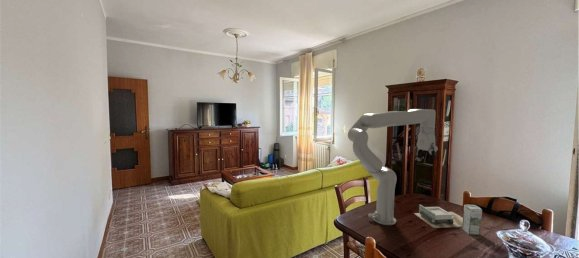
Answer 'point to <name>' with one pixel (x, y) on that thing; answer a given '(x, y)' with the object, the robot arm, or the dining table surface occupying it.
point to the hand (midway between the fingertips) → (425, 159)
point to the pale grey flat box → (436, 214)
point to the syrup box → (472, 219)
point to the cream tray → (457, 222)
